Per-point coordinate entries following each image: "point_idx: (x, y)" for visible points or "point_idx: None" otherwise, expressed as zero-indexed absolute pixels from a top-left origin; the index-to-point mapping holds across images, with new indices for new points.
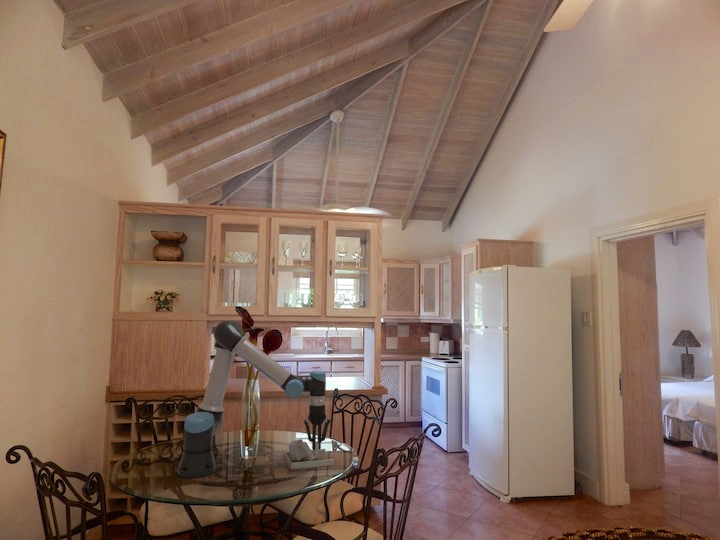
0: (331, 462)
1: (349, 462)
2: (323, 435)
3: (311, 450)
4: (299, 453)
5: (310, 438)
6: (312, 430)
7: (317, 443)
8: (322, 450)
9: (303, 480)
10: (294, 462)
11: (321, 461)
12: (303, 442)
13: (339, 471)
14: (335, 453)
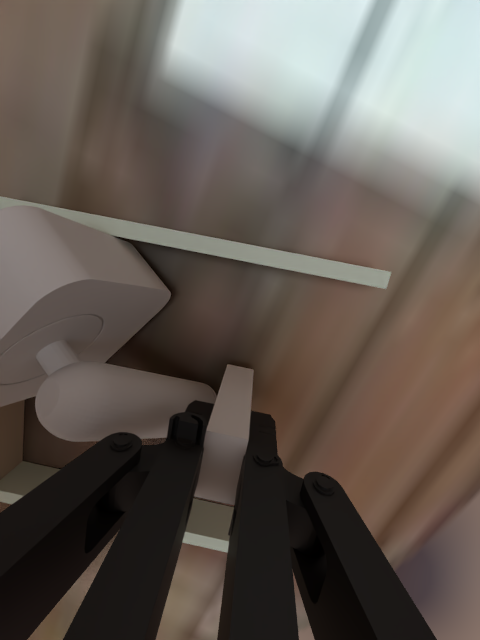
0: None
1: (427, 529)
2: (309, 618)
3: (244, 260)
4: (84, 357)
5: (96, 534)
6: (85, 608)
7: (218, 497)
8: (354, 281)
9: (50, 635)
10: (15, 495)
11: (209, 542)
12: (48, 427)
13: None
14: (468, 292)
